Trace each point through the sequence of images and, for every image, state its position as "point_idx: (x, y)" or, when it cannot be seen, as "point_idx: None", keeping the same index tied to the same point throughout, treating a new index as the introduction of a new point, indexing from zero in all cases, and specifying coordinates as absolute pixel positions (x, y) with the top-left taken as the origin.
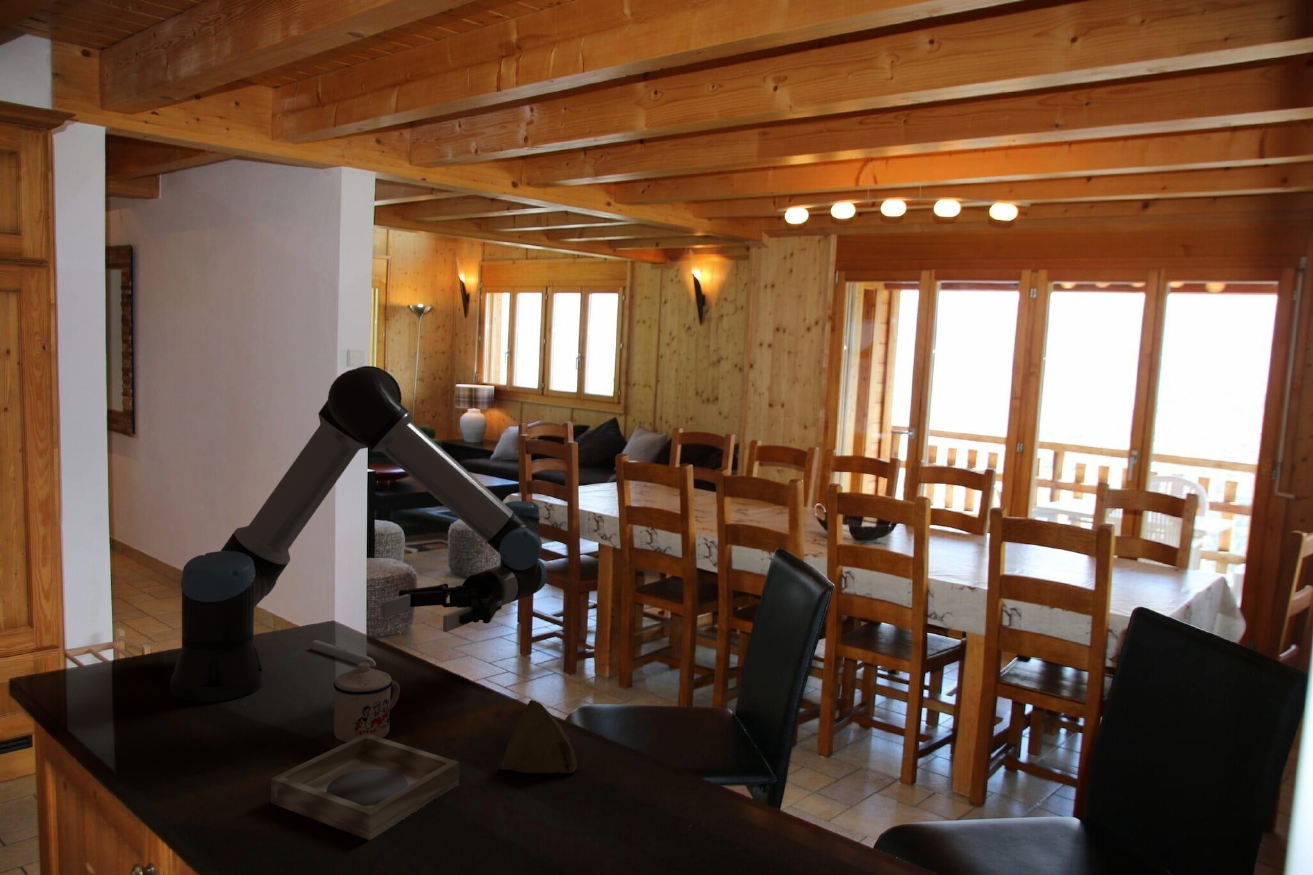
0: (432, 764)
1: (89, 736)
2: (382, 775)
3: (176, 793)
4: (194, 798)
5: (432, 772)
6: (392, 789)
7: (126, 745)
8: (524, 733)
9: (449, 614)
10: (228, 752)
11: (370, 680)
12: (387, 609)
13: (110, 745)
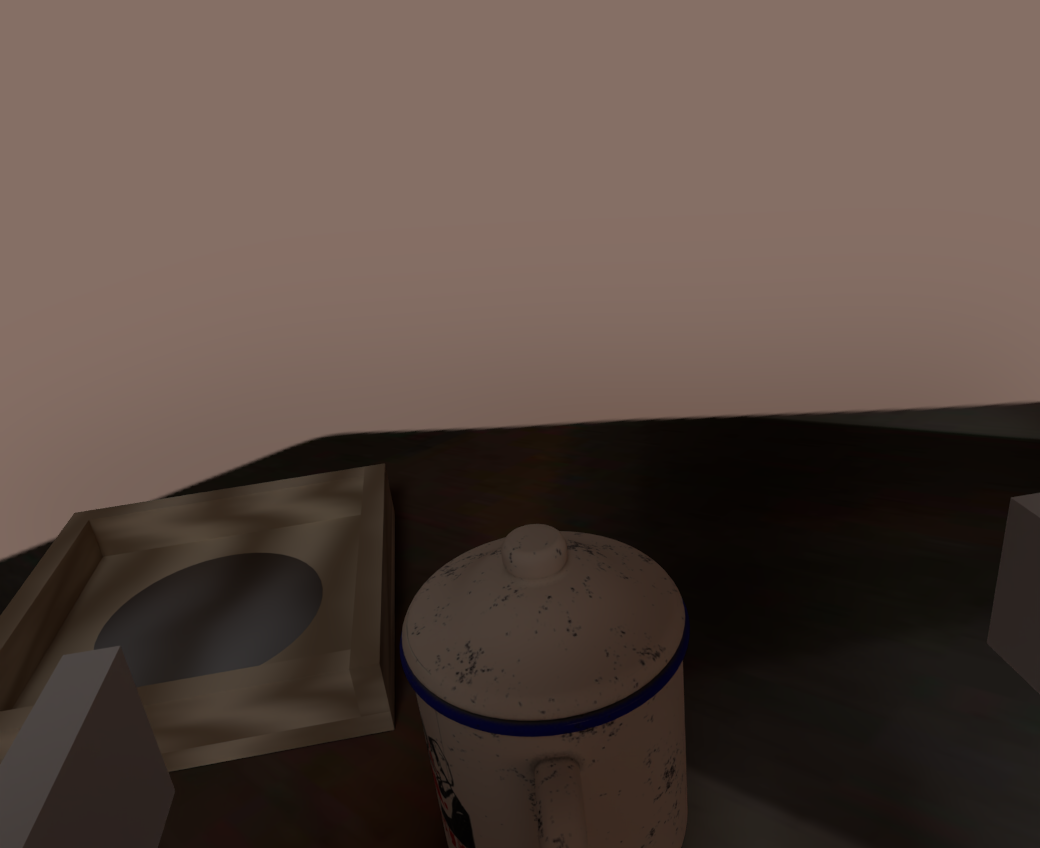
0: None
1: (989, 413)
2: (210, 660)
3: (580, 447)
4: (535, 457)
5: None
6: (134, 643)
7: (892, 438)
8: None
9: (56, 707)
10: (712, 528)
11: (453, 582)
12: (1023, 594)
13: (909, 425)
